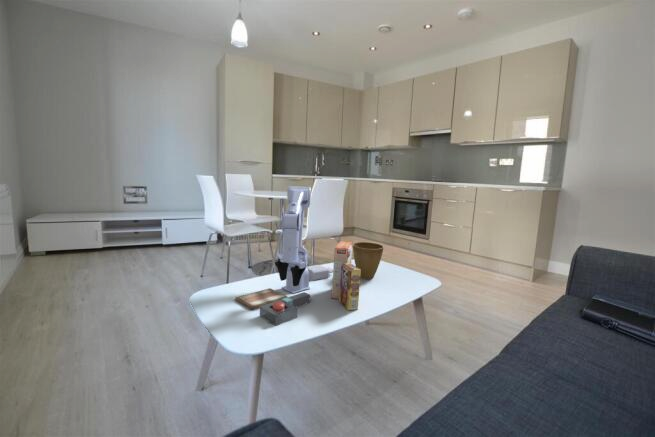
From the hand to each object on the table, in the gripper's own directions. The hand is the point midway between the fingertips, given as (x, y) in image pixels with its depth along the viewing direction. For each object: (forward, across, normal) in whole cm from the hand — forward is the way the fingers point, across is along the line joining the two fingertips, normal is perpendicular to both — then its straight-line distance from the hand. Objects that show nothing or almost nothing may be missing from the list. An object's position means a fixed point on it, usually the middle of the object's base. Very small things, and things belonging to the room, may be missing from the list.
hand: (289, 282), depth 115 cm
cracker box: (+9, +4, +24) cm, 26 cm away
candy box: (+9, +14, +17) cm, 24 cm away
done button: (+6, +6, -9) cm, 12 cm away
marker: (+9, +2, +2) cm, 9 cm away
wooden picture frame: (+9, -10, -5) cm, 14 cm away
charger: (+9, -18, +33) cm, 39 cm away
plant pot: (+9, -3, +50) cm, 51 cm away
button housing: (+8, +6, -9) cm, 13 cm away
